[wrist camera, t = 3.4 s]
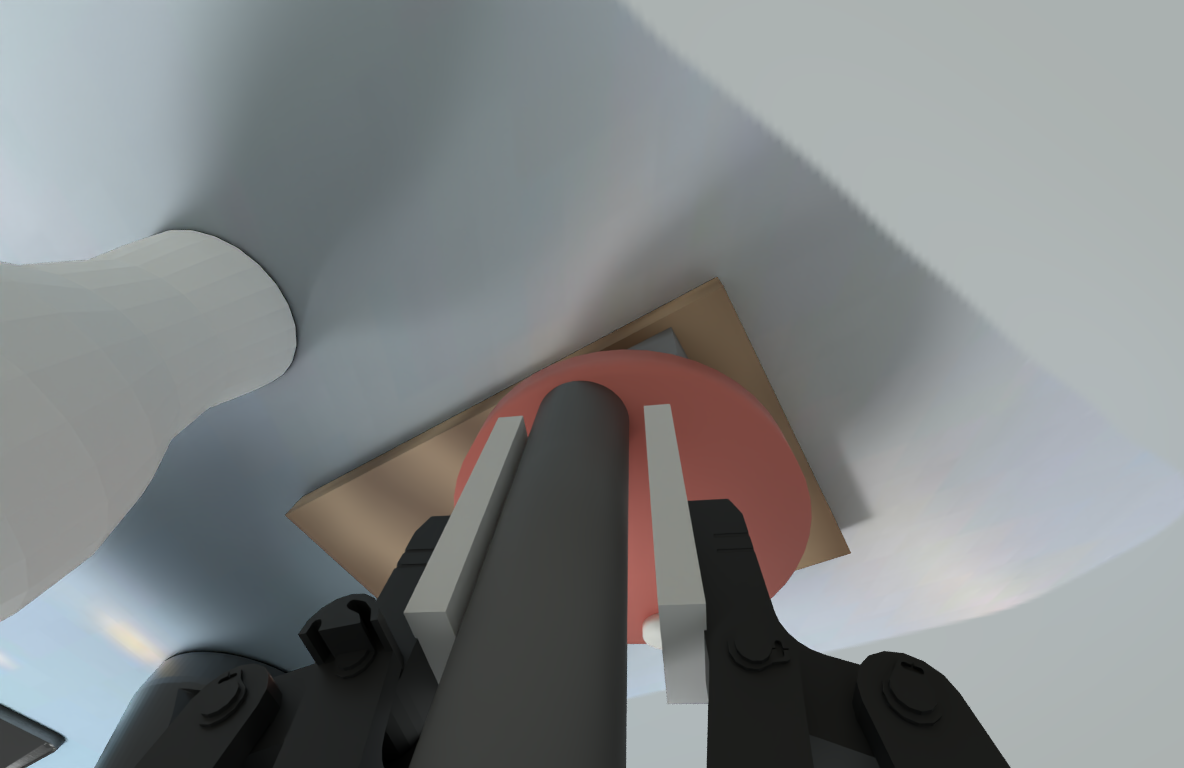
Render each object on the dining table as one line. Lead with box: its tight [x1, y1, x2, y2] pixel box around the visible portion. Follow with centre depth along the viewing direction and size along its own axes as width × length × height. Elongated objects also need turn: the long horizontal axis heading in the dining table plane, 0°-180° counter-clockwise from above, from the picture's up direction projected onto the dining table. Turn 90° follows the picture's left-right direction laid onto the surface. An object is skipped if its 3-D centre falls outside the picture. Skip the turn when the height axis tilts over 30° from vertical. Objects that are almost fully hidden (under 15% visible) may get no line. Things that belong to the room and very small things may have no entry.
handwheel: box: [409, 349, 812, 768], centre depth 13 cm, size 13×13×12 cm
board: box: [285, 277, 851, 598], centre depth 24 cm, size 26×16×4 cm, turn 121°
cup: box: [0, 230, 296, 622], centre depth 15 cm, size 11×11×15 cm
